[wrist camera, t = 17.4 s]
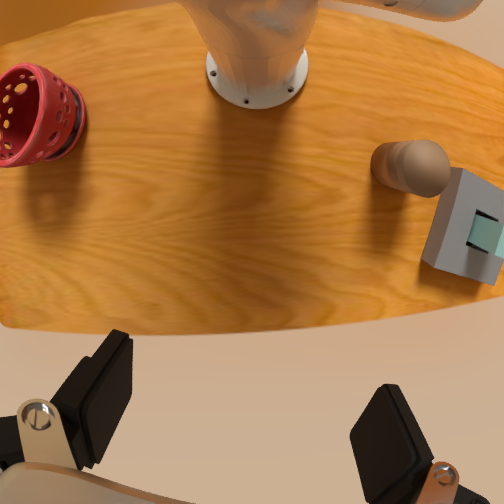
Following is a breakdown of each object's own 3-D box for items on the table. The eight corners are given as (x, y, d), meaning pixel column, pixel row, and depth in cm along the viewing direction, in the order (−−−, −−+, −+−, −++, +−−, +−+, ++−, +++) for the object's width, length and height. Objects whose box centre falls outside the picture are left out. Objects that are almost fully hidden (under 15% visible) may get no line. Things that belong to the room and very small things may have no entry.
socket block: (447, 166, 36) (463, 168, 32) (505, 197, 36) (520, 201, 33) (420, 258, 40) (433, 267, 36) (480, 276, 41) (494, 285, 37)
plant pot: (109, 122, 36) (59, 113, 24) (50, 180, 38) (-4, 190, 26) (73, 60, 33) (25, 41, 21) (20, 118, 35) (-32, 116, 23)
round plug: (376, 136, 35) (411, 131, 26) (414, 151, 36) (455, 152, 26) (365, 179, 37) (397, 187, 28) (404, 193, 37) (442, 204, 28)
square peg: (462, 209, 38) (503, 224, 28) (478, 217, 38) (519, 233, 28) (454, 234, 39) (494, 254, 29) (471, 241, 39) (510, 261, 29)
